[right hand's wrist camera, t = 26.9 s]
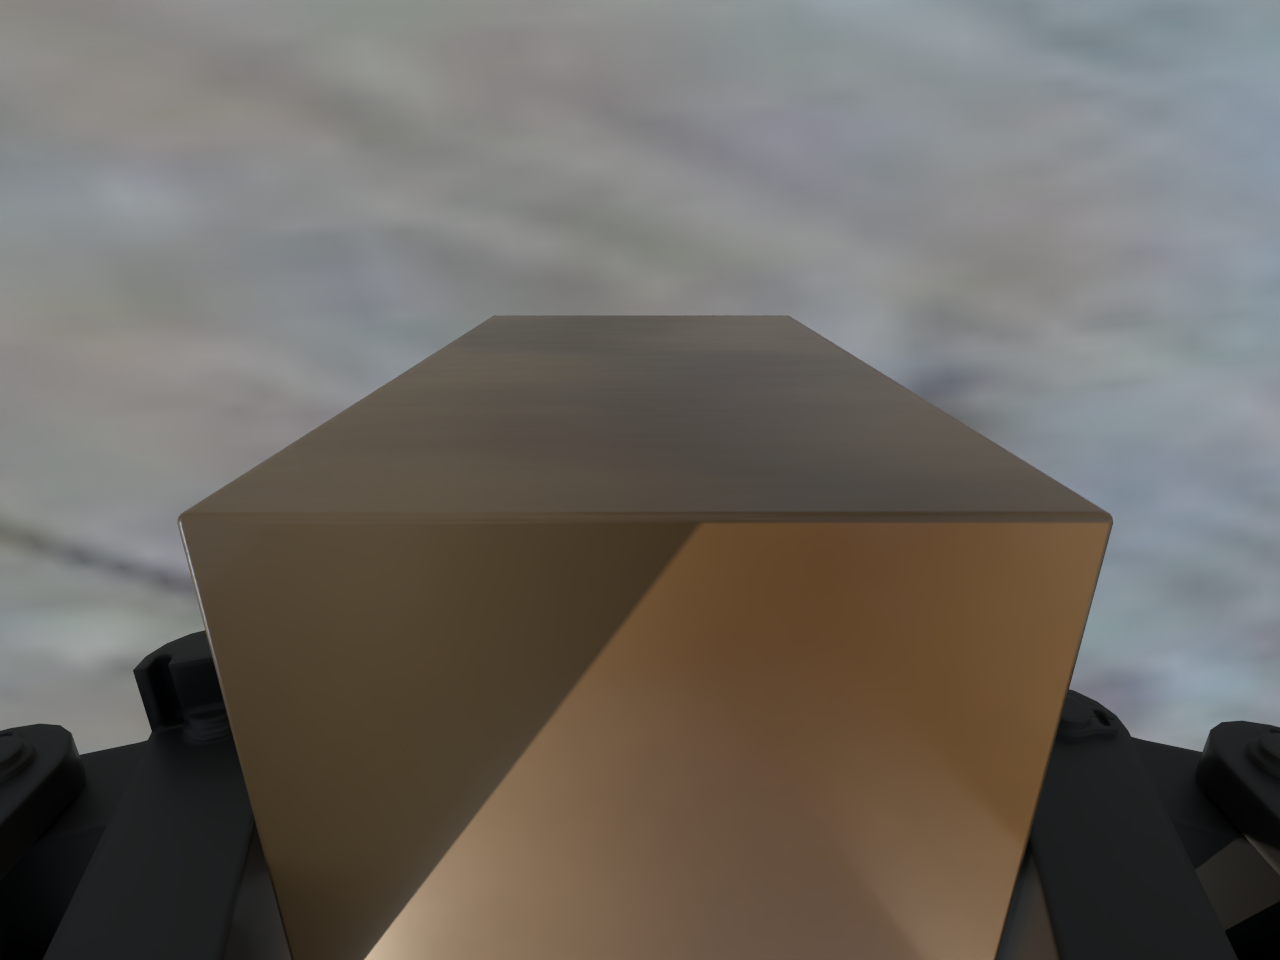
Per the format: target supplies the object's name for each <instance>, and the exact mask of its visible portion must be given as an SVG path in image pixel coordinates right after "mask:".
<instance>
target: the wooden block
mask: <svg viewBox="0 0 1280 960" xmlns="http://www.w3.org/2000/svg"><path fill="white" fill-rule="evenodd" d="M1112 525H1113V520H1112V516H1111V515H1110V513H1108V512H1106V511H1105V510H1103V509H1101V508H1100V507H1098V506H1097V505H1095V504H1093V503H1092V502H1090V501H1088V500H1087V499H1085V498H1084V497H1082V496H1080V495H1079V494H1077V493H1075V492H1074V491H1072V490H1071V489H1069V488H1067V487H1066V486H1064V485H1063V484H1061V483H1059V482H1058V481H1056V480H1054V479H1053V478H1051V477H1050V476H1048V475H1046V474H1045V473H1043V472H1041V471H1040V470H1038V469H1037V468H1035V467H1033V466H1032V465H1030V464H1028V463H1027V462H1025V461H1024V460H1022V459H1020V458H1019V457H1017V456H1015V455H1014V454H1012V453H1011V452H1009V451H1007V450H1006V449H1004V448H1003V447H1001V446H999V445H998V444H996V443H994V442H993V441H991V440H990V439H988V438H986V437H985V436H983V435H981V434H980V433H978V432H977V431H975V430H973V429H972V428H970V427H968V426H967V425H965V424H964V423H962V422H960V421H959V420H957V419H956V418H954V417H952V416H951V415H949V414H947V413H946V412H944V411H943V410H941V409H939V408H938V407H936V406H934V405H933V404H931V403H930V402H928V401H926V400H925V399H923V398H921V397H920V396H918V395H917V394H915V393H913V392H912V391H910V390H908V389H907V388H905V387H904V386H902V385H900V384H899V383H897V382H896V381H894V380H892V379H891V378H889V377H887V376H886V375H884V374H883V373H881V372H879V371H878V370H876V369H874V368H873V367H871V366H870V365H868V364H866V363H865V362H863V361H861V360H860V359H858V358H857V357H855V356H853V355H852V354H850V353H849V352H847V351H845V350H844V349H842V348H840V347H839V346H837V345H836V344H834V343H832V342H831V341H829V340H827V339H826V338H824V337H823V336H821V335H819V334H818V333H816V332H814V331H813V330H811V329H810V328H808V327H806V326H805V325H803V324H802V323H800V322H798V321H797V320H795V319H793V318H792V317H790V316H493V317H491V318H490V319H488V320H486V321H485V322H483V323H482V324H480V325H478V326H477V327H475V328H474V329H472V330H471V331H469V332H467V333H466V334H464V335H463V336H461V337H460V338H458V339H456V340H455V341H453V342H452V343H450V344H448V345H447V346H445V347H444V348H442V349H441V350H439V351H437V352H436V353H434V354H433V355H431V356H429V357H428V358H426V359H425V360H423V361H422V362H420V363H418V364H417V365H415V366H414V367H412V368H411V369H409V370H407V371H406V372H404V373H403V374H401V375H399V376H398V377H396V378H395V379H393V380H392V381H390V382H388V383H387V384H385V385H384V386H382V387H381V388H379V389H377V390H376V391H374V392H373V393H371V394H369V395H368V396H366V397H365V398H363V399H362V400H360V401H358V402H357V403H355V404H354V405H352V406H351V407H349V408H347V409H346V410H344V411H343V412H341V413H339V414H338V415H336V416H335V417H333V418H332V419H330V420H328V421H327V422H325V423H324V424H322V425H320V426H319V427H317V428H316V429H314V430H313V431H311V432H309V433H308V434H306V435H305V436H303V437H302V438H300V439H298V440H297V441H295V442H294V443H292V444H290V445H289V446H287V447H286V448H284V449H283V450H281V451H279V452H278V453H276V454H275V455H273V456H272V457H270V458H268V459H267V460H265V461H264V462H262V463H260V464H259V465H257V466H256V467H254V468H253V469H251V470H249V471H248V472H246V473H245V474H243V475H242V476H240V477H238V478H237V479H235V480H234V481H232V482H230V483H229V484H227V485H226V486H224V487H223V488H221V489H219V490H218V491H216V492H215V493H213V494H211V495H210V496H208V497H207V498H205V499H204V500H202V501H200V502H199V503H197V504H196V505H194V506H193V507H191V508H189V509H188V510H186V511H185V512H183V513H181V514H180V516H179V517H178V527H179V531H180V535H181V539H182V542H183V546H184V550H185V554H186V558H187V562H188V565H189V569H190V573H191V577H192V581H193V585H194V588H195V592H196V596H197V600H198V604H199V608H200V611H201V615H202V619H203V623H204V627H205V631H206V634H207V638H208V642H209V646H210V650H211V654H212V657H213V661H214V665H215V669H216V673H217V677H218V680H219V684H220V688H221V692H222V696H223V700H224V703H225V707H226V711H227V715H228V719H229V723H230V726H231V730H232V734H233V738H234V742H235V746H236V749H237V753H238V757H239V761H240V765H241V769H242V772H243V776H244V780H245V784H246V788H247V792H248V795H249V799H250V803H251V807H252V811H253V815H254V818H255V822H256V826H257V830H258V834H259V838H260V841H261V845H262V849H263V853H264V857H265V861H266V864H267V868H268V872H269V876H270V880H271V884H272V887H273V891H274V895H275V899H276V903H277V907H278V910H279V914H280V918H281V922H282V926H283V930H284V933H285V937H286V941H287V945H288V949H289V952H290V956H291V960H997V956H998V953H999V949H1000V945H1001V941H1002V938H1003V934H1004V930H1005V926H1006V923H1007V919H1008V915H1009V911H1010V908H1011V904H1012V900H1013V896H1014V893H1015V889H1016V885H1017V881H1018V878H1019V874H1020V870H1021V866H1022V863H1023V859H1024V855H1025V851H1026V848H1027V844H1028V840H1029V836H1030V833H1031V829H1032V825H1033V821H1034V818H1035V814H1036V810H1037V806H1038V803H1039V799H1040V795H1041V791H1042V788H1043V784H1044V780H1045V776H1046V773H1047V769H1048V765H1049V761H1050V758H1051V754H1052V750H1053V746H1054V743H1055V739H1056V735H1057V731H1058V728H1059V724H1060V720H1061V716H1062V713H1063V709H1064V705H1065V701H1066V698H1067V694H1068V690H1069V686H1070V683H1071V679H1072V675H1073V671H1074V668H1075V664H1076V660H1077V656H1078V653H1079V649H1080V645H1081V641H1082V638H1083V634H1084V630H1085V626H1086V623H1087V619H1088V615H1089V611H1090V608H1091V604H1092V600H1093V596H1094V593H1095V589H1096V585H1097V581H1098V578H1099V574H1100V570H1101V566H1102V563H1103V559H1104V555H1105V551H1106V548H1107V544H1108V540H1109V536H1110V533H1111V529H1112Z"/></svg>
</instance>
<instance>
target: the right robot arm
mask: <svg viewBox="0 0 1280 960" xmlns="http://www.w3.org/2000/svg"><path fill="white" fill-rule="evenodd" d="M133 672H134V675H135V678H136V682H137V685H138V688H139V691H140V694H141V698H142V701H143V704H144V707H145V710H146V714H147V717H148V720H149V723H150V726H151V730H152V733H151V735H150V737H149V739H148V740H147V741H143V742H140V743H135V744H130V745H125V746H121V747H116V748H111V749H106V750H101V751H97V752H92V753H87V754H82V755H79V753H78V750H77V748H76V745H75V742H74V739H73V737H72V734H71V733H70V732H69V731H67V730H66V729H65V728H63V727H62V726H60V725H49V724H35V725H28V726H22V727H16V728H10V729H6V730H2V731H0V960H291V956H290V952H289V949H288V945H287V941H286V937H285V933H284V930H283V926H282V922H281V918H280V914H279V910H278V907H277V903H276V899H275V895H274V891H273V887H272V884H271V880H270V876H269V872H268V868H267V864H266V861H265V857H264V853H263V849H262V845H261V841H260V838H259V834H258V830H257V826H256V822H255V818H254V815H253V811H252V807H251V803H250V799H249V795H248V792H247V788H246V784H245V780H244V776H243V772H242V769H241V765H240V761H239V757H238V753H237V749H236V746H235V742H234V738H233V734H232V730H231V726H230V723H229V719H228V715H227V711H226V707H225V703H224V700H223V696H222V692H221V688H220V684H219V680H218V677H217V673H216V669H215V665H214V661H213V657H212V654H211V650H210V646H209V642H208V638H207V634H206V631H201V632H197V633H192V634H189V635H187V636H184V637H182V638H179V639H177V640H174V641H172V642H170V643H167V644H165V645H164V646H162V647H160V648H159V649H157V650H156V651H154V652H152V653H151V654H149V655H148V656H146V657H145V658H144V659H143V660H142V661H141V662H140V664H139V665H138V666H137V667H136V668H135V669H134V670H133ZM997 960H1280V727H1276V726H1272V725H1266V724H1260V723H1253V722H1247V721H1233V722H1222V723H1220V724H1219V725H1217V726H1216V727H1214V728H1213V729H1211V730H1210V733H1209V736H1208V738H1207V741H1206V744H1205V747H1204V749H1203V752H1199V751H1194V750H1189V749H1184V748H1179V747H1174V746H1170V745H1165V744H1160V743H1155V742H1150V741H1145V740H1141V739H1137V738H1134V737H1131V736H1130V734H1129V732H1128V730H1127V729H1126V727H1125V726H1124V725H1123V724H1122V722H1121V721H1120V720H1119V719H1118V717H1117V716H1116V715H1115V714H1113V713H1112V712H1111V711H1109V710H1108V709H1106V708H1105V707H1104V706H1102V705H1101V704H1100V703H1098V702H1097V701H1095V700H1093V699H1090V698H1088V697H1086V696H1084V695H1082V694H1080V693H1078V692H1075V691H1073V690H1068V694H1067V698H1066V701H1065V705H1064V709H1063V713H1062V716H1061V720H1060V724H1059V728H1058V731H1057V735H1056V739H1055V743H1054V746H1053V750H1052V754H1051V758H1050V761H1049V765H1048V769H1047V773H1046V776H1045V780H1044V784H1043V788H1042V791H1041V795H1040V799H1039V803H1038V806H1037V810H1036V814H1035V818H1034V821H1033V825H1032V829H1031V833H1030V836H1029V840H1028V844H1027V848H1026V851H1025V855H1024V859H1023V863H1022V866H1021V870H1020V874H1019V878H1018V881H1017V885H1016V889H1015V893H1014V896H1013V900H1012V904H1011V908H1010V911H1009V915H1008V919H1007V923H1006V926H1005V930H1004V934H1003V938H1002V941H1001V945H1000V949H999V953H998V956H997Z"/></svg>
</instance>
